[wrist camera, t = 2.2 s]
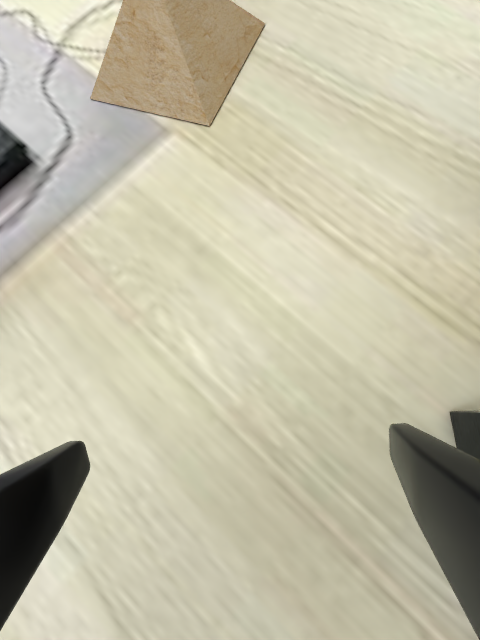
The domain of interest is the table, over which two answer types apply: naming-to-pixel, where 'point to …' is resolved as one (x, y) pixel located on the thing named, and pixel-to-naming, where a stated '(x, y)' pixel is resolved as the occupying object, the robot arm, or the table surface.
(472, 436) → the panel
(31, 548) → the robot arm
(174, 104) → the model pyramid
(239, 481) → the table surface
